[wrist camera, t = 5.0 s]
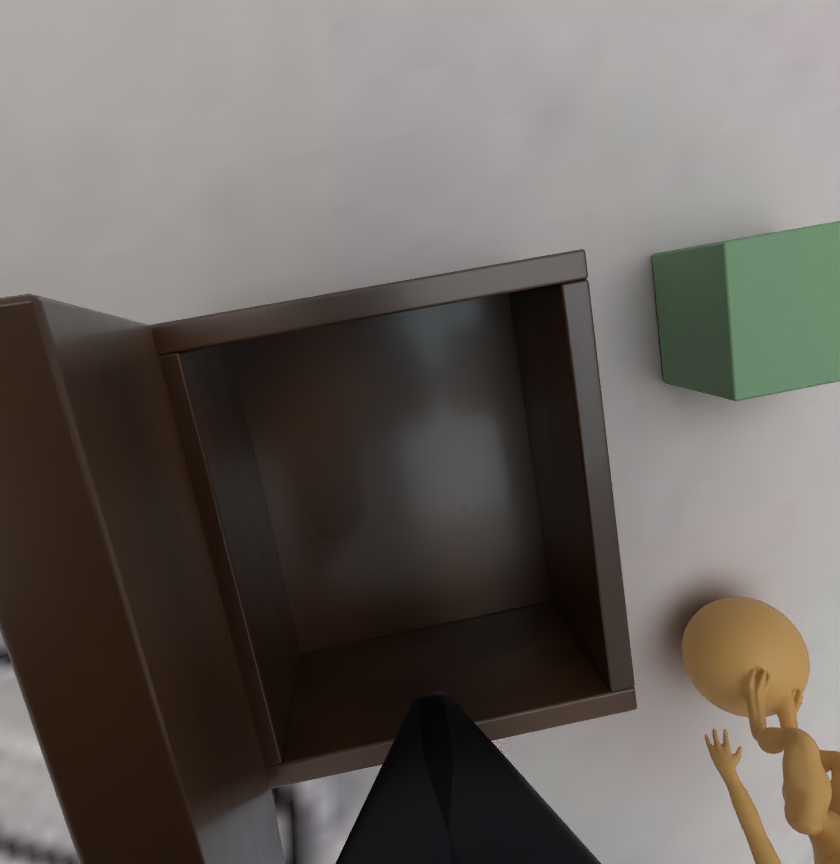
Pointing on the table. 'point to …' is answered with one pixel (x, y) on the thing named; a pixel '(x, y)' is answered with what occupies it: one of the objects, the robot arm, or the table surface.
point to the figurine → (758, 698)
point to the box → (407, 507)
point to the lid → (119, 601)
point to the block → (751, 313)
